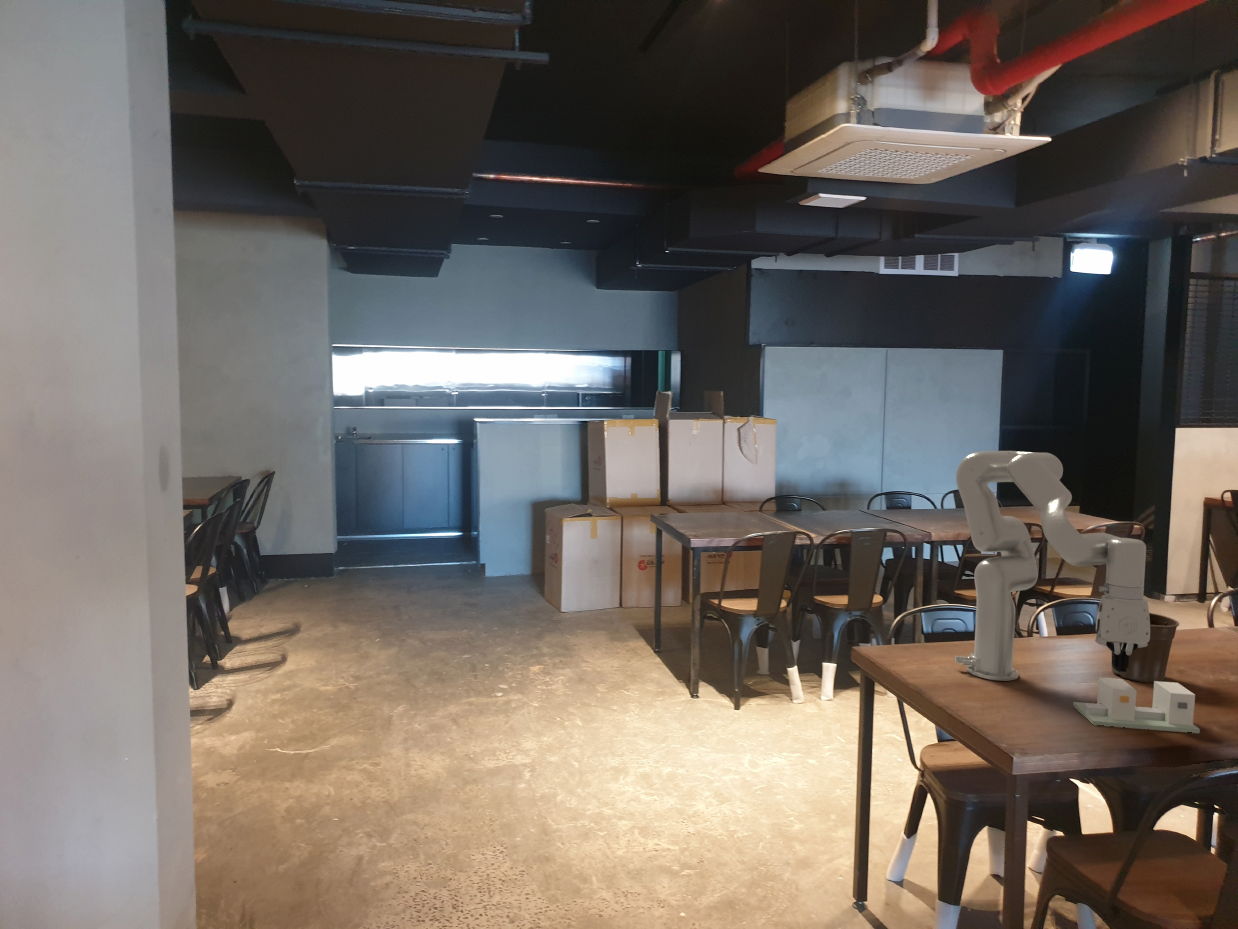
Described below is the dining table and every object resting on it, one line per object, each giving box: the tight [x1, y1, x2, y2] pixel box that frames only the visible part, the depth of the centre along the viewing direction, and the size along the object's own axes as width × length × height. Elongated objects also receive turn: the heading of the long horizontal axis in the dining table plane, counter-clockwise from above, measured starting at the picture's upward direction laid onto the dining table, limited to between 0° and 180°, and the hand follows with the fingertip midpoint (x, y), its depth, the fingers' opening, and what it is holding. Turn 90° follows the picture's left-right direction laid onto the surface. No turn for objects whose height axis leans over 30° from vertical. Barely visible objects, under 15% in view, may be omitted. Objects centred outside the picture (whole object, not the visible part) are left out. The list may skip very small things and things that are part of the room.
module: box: [1096, 676, 1137, 721], centre depth 192 cm, size 5×9×7 cm, turn 170°
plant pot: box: [1111, 612, 1180, 684], centre depth 222 cm, size 16×16×16 cm
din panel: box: [1073, 681, 1201, 734], centre depth 192 cm, size 22×12×8 cm, turn 80°
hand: (1119, 670), depth 192 cm, fingers closed
